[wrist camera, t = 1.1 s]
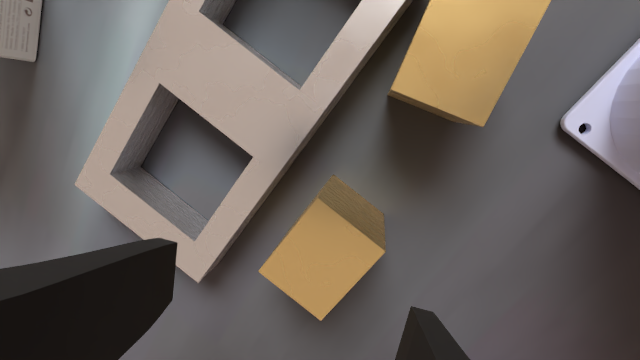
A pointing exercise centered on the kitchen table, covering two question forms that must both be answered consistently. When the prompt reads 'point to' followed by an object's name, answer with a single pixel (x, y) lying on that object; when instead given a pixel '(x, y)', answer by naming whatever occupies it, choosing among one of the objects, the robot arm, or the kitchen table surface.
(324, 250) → the brushed gold block
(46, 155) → the kitchen table surface
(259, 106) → the white slotted board
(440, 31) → the wooden brick
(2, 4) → the small box
